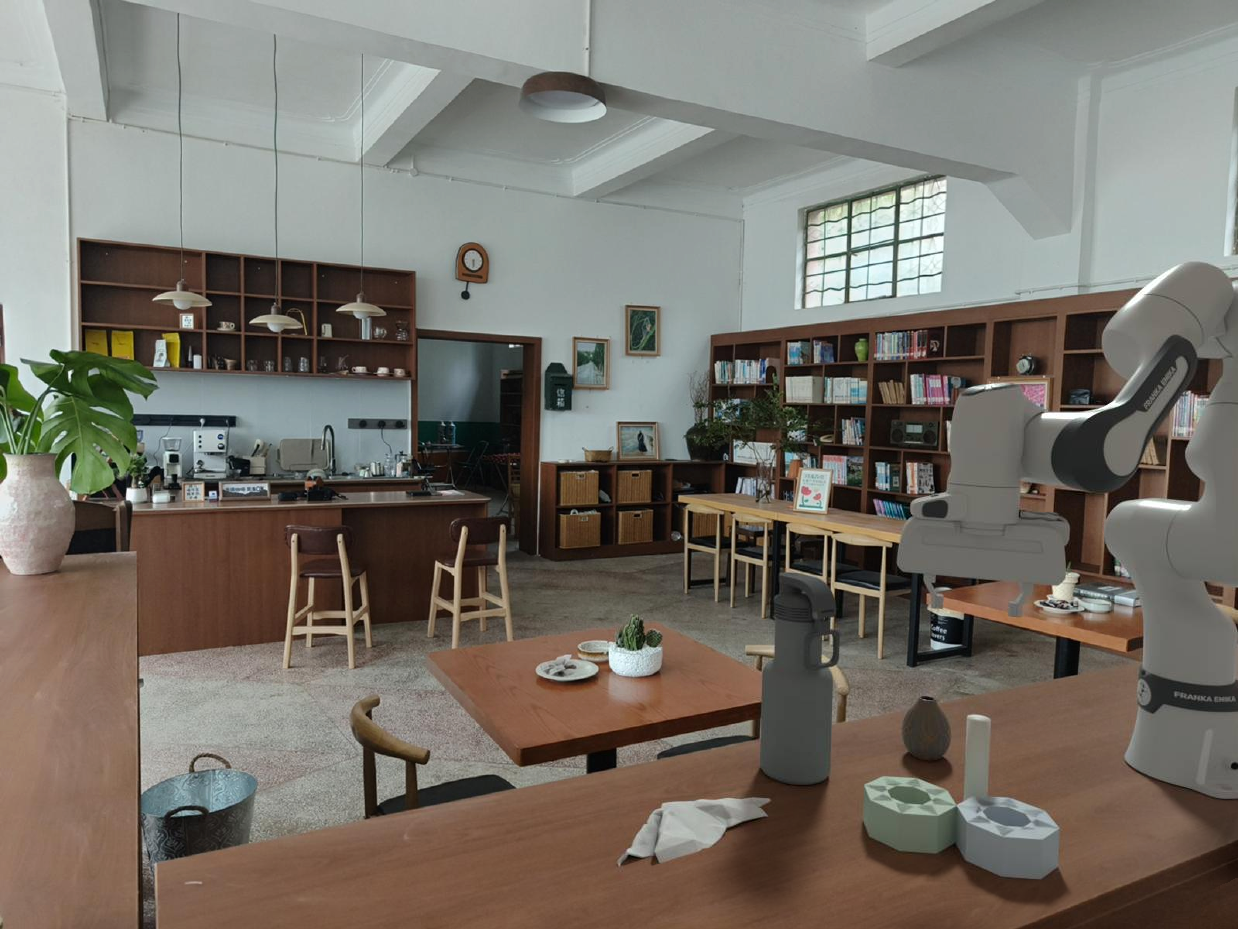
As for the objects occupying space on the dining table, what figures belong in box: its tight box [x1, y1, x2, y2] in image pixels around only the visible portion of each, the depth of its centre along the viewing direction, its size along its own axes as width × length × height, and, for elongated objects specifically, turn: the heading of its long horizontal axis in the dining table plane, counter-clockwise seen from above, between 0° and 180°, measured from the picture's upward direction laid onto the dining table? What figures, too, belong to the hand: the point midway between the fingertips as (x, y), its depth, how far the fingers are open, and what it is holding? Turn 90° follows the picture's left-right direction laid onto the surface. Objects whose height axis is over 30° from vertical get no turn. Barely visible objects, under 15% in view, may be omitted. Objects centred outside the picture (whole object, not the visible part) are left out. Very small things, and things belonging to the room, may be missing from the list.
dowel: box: [963, 714, 992, 801], centre depth 106 cm, size 3×3×12 cm
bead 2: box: [954, 796, 1061, 880], centre depth 96 cm, size 10×10×4 cm
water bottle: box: [759, 571, 841, 786], centre depth 116 cm, size 10×10×28 cm
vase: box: [901, 695, 952, 762], centre depth 124 cm, size 7×7×9 cm
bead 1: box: [862, 776, 958, 855], centre depth 101 cm, size 10×10×4 cm
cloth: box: [617, 797, 772, 868], centre depth 102 cm, size 26×14×2 cm, turn 117°
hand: (975, 612), depth 108 cm, fingers open, 8 cm apart
